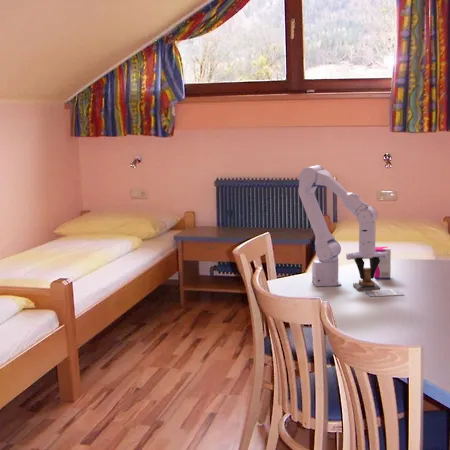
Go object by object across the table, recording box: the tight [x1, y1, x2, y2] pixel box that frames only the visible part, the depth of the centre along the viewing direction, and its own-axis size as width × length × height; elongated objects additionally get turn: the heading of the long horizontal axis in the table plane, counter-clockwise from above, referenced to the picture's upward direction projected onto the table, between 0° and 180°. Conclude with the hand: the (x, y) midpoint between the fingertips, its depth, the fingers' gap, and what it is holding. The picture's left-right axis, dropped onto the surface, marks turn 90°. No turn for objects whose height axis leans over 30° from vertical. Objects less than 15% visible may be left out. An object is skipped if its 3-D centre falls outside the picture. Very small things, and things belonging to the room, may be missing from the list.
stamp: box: [358, 267, 376, 287], centre depth 248 cm, size 4×4×6 cm
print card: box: [364, 288, 405, 298], centre depth 241 cm, size 12×7×1 cm, turn 94°
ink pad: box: [352, 282, 381, 292], centre depth 249 cm, size 8×7×1 cm
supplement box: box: [374, 246, 392, 280], centre depth 263 cm, size 6×6×12 cm
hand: (366, 278), depth 248 cm, fingers closed on stamp, 3 cm apart
